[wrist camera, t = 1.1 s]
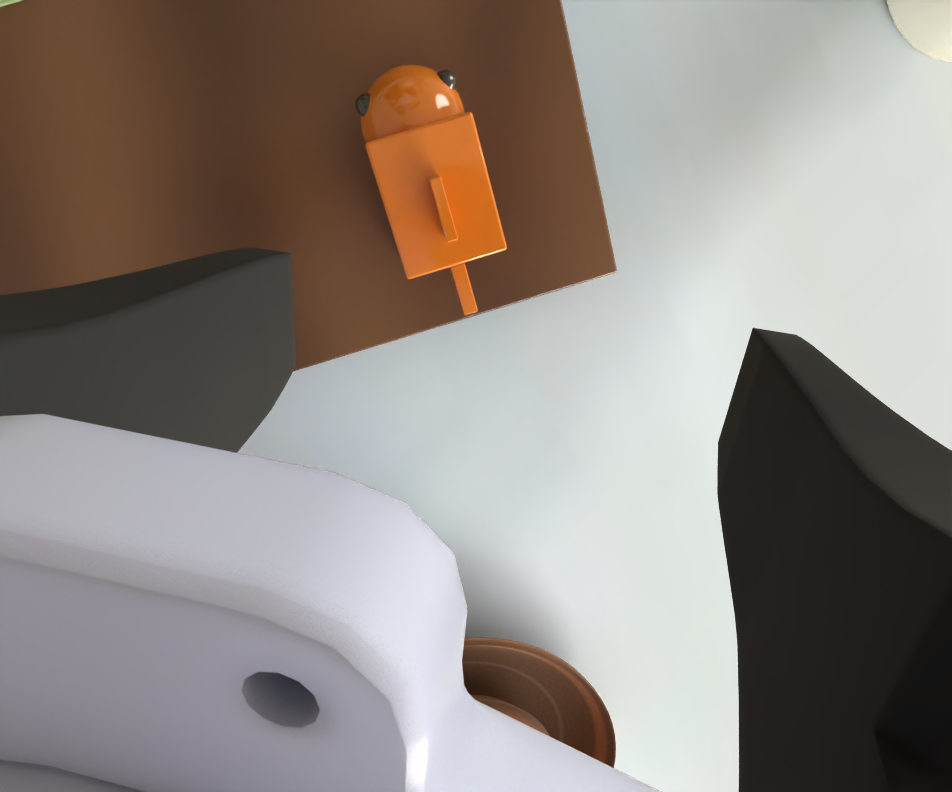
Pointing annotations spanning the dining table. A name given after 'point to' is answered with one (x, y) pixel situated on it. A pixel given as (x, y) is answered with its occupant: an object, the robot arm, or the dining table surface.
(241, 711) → the robot arm
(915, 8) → the beer glass
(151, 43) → the board
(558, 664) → the cup and saucer
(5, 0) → the corner pad
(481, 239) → the goldfish
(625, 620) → the dining table surface
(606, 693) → the dining table surface
